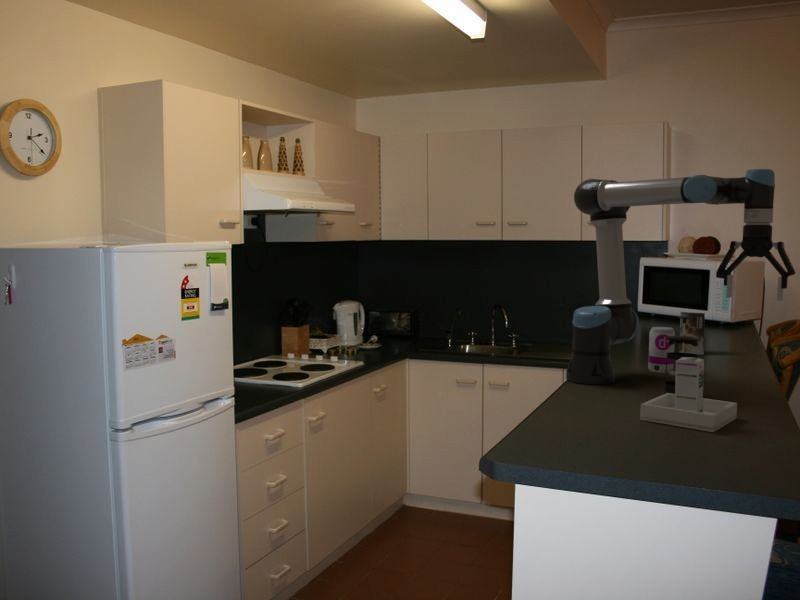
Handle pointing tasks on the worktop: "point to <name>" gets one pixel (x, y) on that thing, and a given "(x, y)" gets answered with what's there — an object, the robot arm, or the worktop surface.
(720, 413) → the bin
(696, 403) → the syrup box
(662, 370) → the supplement can
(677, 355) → the french press
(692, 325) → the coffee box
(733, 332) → the worktop surface
